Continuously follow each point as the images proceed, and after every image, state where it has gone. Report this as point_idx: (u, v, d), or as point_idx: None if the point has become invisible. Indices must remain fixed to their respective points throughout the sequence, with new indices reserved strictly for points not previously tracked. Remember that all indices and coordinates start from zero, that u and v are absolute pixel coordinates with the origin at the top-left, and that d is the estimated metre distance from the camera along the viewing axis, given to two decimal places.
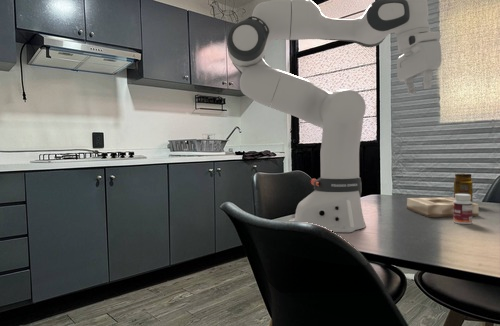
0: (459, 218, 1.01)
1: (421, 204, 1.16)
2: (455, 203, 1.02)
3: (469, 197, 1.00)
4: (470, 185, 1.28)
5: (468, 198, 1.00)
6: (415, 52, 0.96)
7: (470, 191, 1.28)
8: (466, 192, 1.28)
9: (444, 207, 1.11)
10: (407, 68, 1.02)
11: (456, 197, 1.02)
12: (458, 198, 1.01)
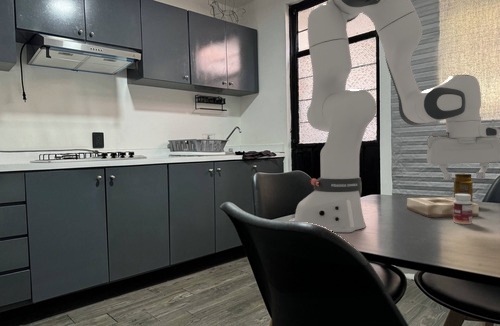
0: (459, 218, 1.01)
1: (421, 204, 1.16)
2: (455, 203, 1.02)
3: (469, 197, 1.00)
4: (470, 185, 1.28)
5: (468, 198, 1.00)
6: (481, 143, 0.99)
7: (470, 191, 1.28)
8: (466, 192, 1.28)
9: (444, 207, 1.11)
10: (460, 154, 1.00)
11: (456, 197, 1.02)
12: (458, 198, 1.01)
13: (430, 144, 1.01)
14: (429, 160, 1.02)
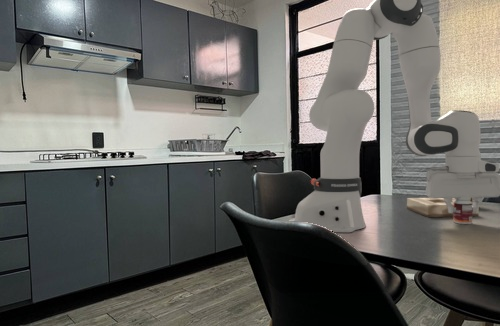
0: (459, 218, 1.01)
1: (421, 204, 1.16)
2: (455, 203, 1.02)
3: (469, 197, 1.00)
4: None
5: (468, 198, 1.00)
6: (480, 178, 1.00)
7: None
8: None
9: (444, 207, 1.11)
10: (459, 188, 1.00)
11: None
12: (458, 198, 1.01)
13: (429, 178, 1.02)
14: (428, 193, 1.02)
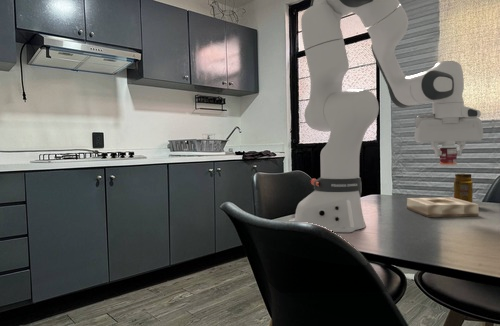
0: (445, 161, 1.11)
1: (421, 204, 1.16)
2: (441, 148, 1.12)
3: (453, 141, 1.10)
4: (470, 185, 1.28)
5: (452, 142, 1.10)
6: (464, 123, 1.10)
7: (470, 191, 1.28)
8: (466, 192, 1.28)
9: (444, 207, 1.11)
10: (444, 133, 1.10)
11: (442, 142, 1.12)
12: (443, 143, 1.11)
13: (417, 124, 1.12)
14: (416, 138, 1.12)
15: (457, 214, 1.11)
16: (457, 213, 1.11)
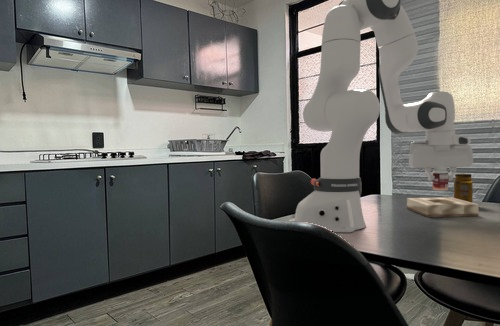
0: (437, 185, 1.18)
1: (421, 204, 1.16)
2: (434, 173, 1.19)
3: (445, 167, 1.17)
4: (470, 185, 1.28)
5: (444, 168, 1.17)
6: (455, 150, 1.17)
7: (470, 191, 1.28)
8: (466, 192, 1.28)
9: (444, 207, 1.11)
10: (437, 159, 1.17)
11: (434, 168, 1.19)
12: (436, 168, 1.18)
13: (411, 150, 1.18)
14: (410, 164, 1.19)
15: (457, 214, 1.11)
16: (457, 213, 1.11)
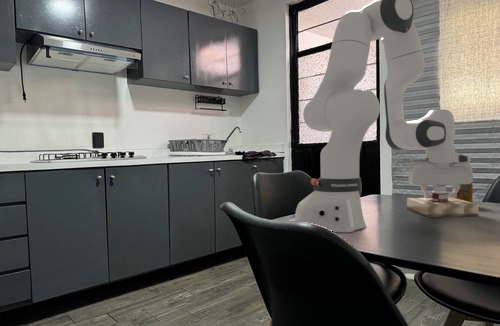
0: None
1: (421, 204, 1.16)
2: (433, 193, 1.19)
3: (445, 187, 1.17)
4: (470, 185, 1.28)
5: (444, 188, 1.17)
6: (455, 167, 1.17)
7: (470, 191, 1.28)
8: (466, 192, 1.28)
9: (444, 207, 1.11)
10: (437, 177, 1.17)
11: (434, 187, 1.19)
12: (435, 188, 1.18)
13: (411, 167, 1.19)
14: (410, 181, 1.19)
15: (457, 214, 1.11)
16: (457, 213, 1.11)
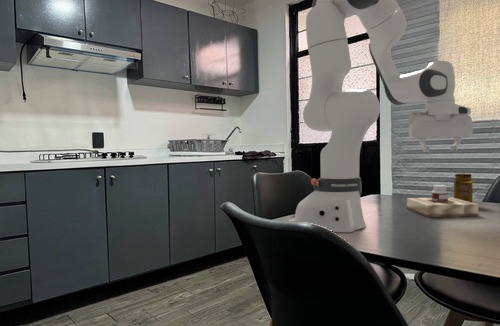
0: None
1: (421, 204, 1.16)
2: (433, 193, 1.19)
3: (445, 187, 1.17)
4: (470, 185, 1.28)
5: (444, 188, 1.17)
6: (455, 120, 1.16)
7: (470, 191, 1.28)
8: (466, 192, 1.28)
9: (444, 207, 1.11)
10: (437, 129, 1.17)
11: (434, 187, 1.19)
12: (435, 188, 1.18)
13: (411, 121, 1.18)
14: (410, 134, 1.18)
15: (457, 214, 1.11)
16: (457, 213, 1.11)
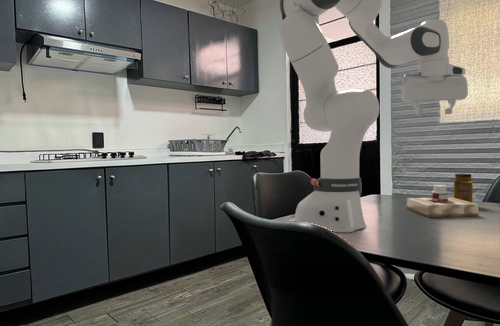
0: None
1: (421, 204, 1.16)
2: (433, 193, 1.19)
3: (445, 187, 1.17)
4: (470, 185, 1.28)
5: (444, 188, 1.17)
6: (449, 81, 1.12)
7: (470, 191, 1.28)
8: (466, 192, 1.28)
9: (444, 207, 1.11)
10: (430, 91, 1.12)
11: (434, 187, 1.19)
12: (436, 188, 1.18)
13: (404, 82, 1.14)
14: (403, 97, 1.14)
15: (457, 214, 1.11)
16: (457, 213, 1.11)
